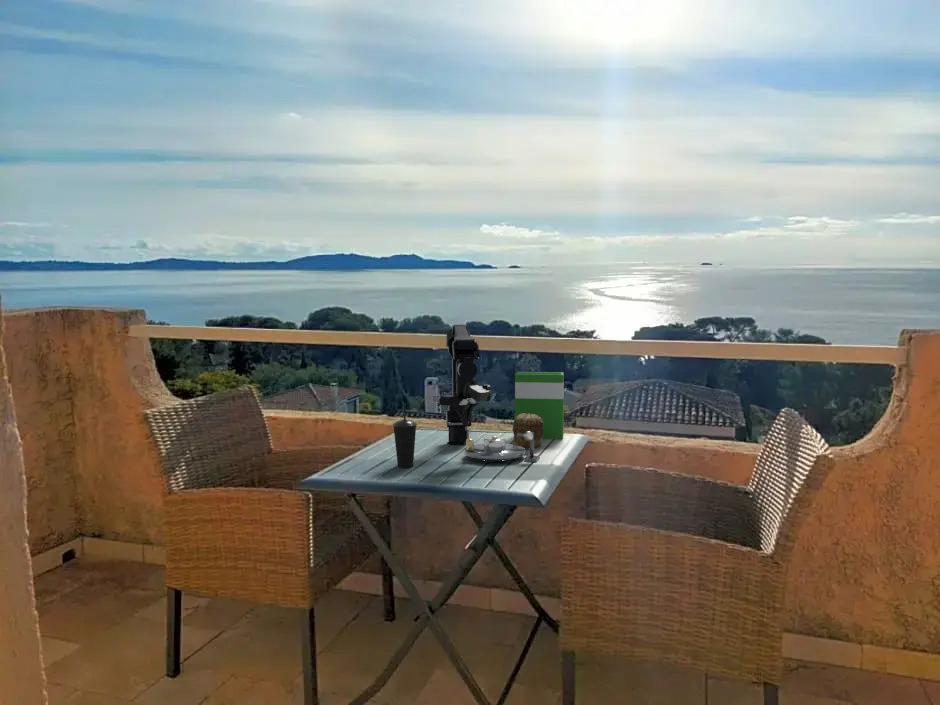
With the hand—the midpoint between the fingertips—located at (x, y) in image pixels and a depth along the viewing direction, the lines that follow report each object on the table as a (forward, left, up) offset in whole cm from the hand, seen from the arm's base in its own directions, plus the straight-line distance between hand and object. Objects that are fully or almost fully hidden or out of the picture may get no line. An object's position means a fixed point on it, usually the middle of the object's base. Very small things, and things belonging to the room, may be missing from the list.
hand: (465, 425), depth 238 cm
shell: (+15, +26, -12) cm, 32 cm away
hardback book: (+15, +45, -12) cm, 49 cm away
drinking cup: (-16, -12, -12) cm, 23 cm away
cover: (+8, +7, -9) cm, 14 cm away
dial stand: (+19, +7, -12) cm, 23 cm away
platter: (+8, +7, -10) cm, 15 cm away
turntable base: (+8, +7, -12) cm, 16 cm away
